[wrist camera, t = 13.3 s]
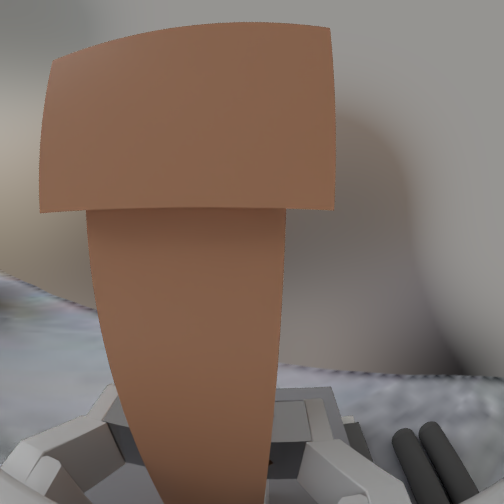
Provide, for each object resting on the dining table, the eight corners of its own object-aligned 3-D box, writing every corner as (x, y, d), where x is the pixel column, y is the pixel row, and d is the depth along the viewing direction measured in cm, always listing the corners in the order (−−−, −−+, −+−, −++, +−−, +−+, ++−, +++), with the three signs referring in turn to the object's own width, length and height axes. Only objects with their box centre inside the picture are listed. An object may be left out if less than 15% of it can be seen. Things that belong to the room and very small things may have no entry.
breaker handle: (176, 552, 6) (52, 60, 3) (187, 498, 10) (137, 107, 6) (268, 560, 6) (329, 28, 3) (267, 503, 10) (296, 101, 6)
